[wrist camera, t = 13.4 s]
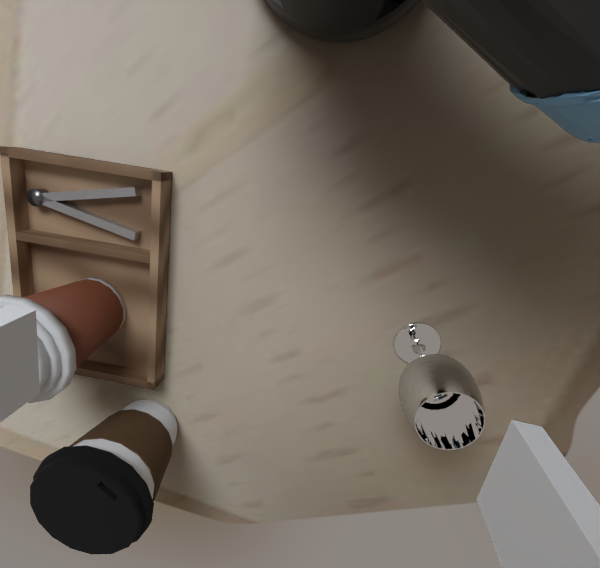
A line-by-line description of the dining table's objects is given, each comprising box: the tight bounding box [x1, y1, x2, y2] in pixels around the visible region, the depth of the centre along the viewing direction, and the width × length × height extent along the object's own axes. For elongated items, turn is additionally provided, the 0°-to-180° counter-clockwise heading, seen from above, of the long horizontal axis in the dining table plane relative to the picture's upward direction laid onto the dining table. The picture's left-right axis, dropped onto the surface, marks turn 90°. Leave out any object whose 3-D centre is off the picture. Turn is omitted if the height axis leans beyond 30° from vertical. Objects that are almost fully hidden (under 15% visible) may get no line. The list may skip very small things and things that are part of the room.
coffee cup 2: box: [30, 399, 177, 554], centre depth 38 cm, size 11×11×12 cm
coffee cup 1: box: [0, 277, 127, 403], centre depth 34 cm, size 9×9×12 cm
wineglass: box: [394, 323, 485, 450], centre depth 31 cm, size 6×6×12 cm
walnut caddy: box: [0, 146, 172, 389], centre depth 38 cm, size 22×15×2 cm
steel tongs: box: [27, 187, 141, 241], centre depth 36 cm, size 11×5×1 cm, turn 82°
